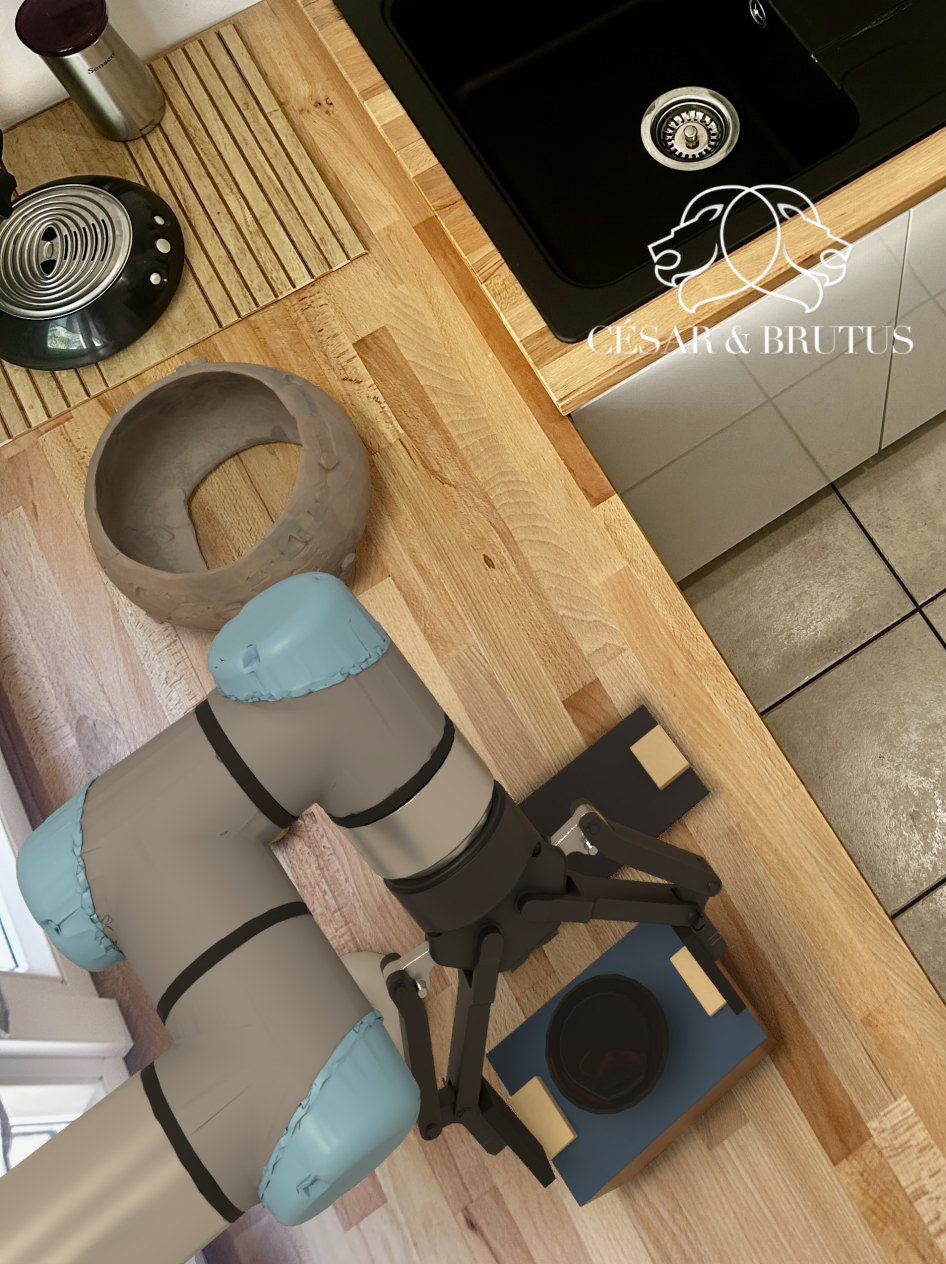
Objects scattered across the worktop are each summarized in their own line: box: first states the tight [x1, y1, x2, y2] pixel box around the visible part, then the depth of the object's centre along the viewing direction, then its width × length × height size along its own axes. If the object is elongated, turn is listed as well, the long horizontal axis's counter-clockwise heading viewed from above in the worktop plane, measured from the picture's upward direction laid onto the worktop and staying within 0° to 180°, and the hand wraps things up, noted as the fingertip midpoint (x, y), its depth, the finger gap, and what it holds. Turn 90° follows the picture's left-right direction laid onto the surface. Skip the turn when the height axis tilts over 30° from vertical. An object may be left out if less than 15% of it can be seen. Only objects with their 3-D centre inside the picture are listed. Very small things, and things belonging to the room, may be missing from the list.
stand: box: [582, 958, 780, 1207], centre depth 101 cm, size 14×10×24 cm
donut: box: [339, 950, 405, 1061], centre depth 112 cm, size 10×4×10 cm
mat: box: [517, 703, 710, 878], centre depth 118 cm, size 20×9×2 cm, turn 129°
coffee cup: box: [545, 974, 669, 1115], centre depth 85 cm, size 7×7×10 cm
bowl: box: [83, 356, 372, 631], centre depth 126 cm, size 23×23×15 cm
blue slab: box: [484, 923, 767, 1208], centre depth 89 cm, size 14×10×2 cm
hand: (640, 1081), depth 85 cm, fingers open, 13 cm apart
